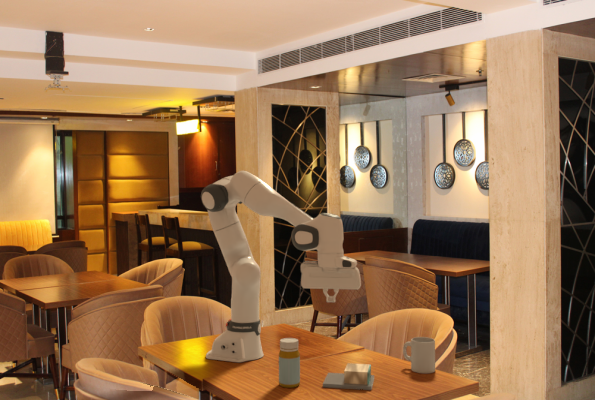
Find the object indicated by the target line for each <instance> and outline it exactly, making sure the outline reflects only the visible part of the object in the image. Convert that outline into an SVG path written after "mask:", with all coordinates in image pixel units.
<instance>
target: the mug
mask: <svg viewBox="0 0 595 400" xmlns="http://www.w3.org/2000/svg"><path fill="white" fill-rule="evenodd" d="M407 347H410V355H411V356H410V355H408V354H407ZM402 349H403V350H402V353H403V357H404V359H406V360H407V361H410V369H411V371H412V372H414V373H417V374H433V373H435V371H436V340H435V339H434V338H432V337H427V336H415V337H413V338H411V339H410V341H406V342H405V343H404V344H403V347H402Z"/></svg>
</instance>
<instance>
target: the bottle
mask: <svg viewBox="0 0 595 400" xmlns="http://www.w3.org/2000/svg"><path fill="white" fill-rule="evenodd" d="M300 363H301V355H300V351H299V339H298V338H294V337H285V338H281V339H280V340H279V352H278V384H279V386H280V387H282V388H285V389H286V388H287V389H292V388H297V387H298V386H299V385H300V384H301V364H300Z"/></svg>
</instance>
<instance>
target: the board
mask: <svg viewBox="0 0 595 400" xmlns="http://www.w3.org/2000/svg"><path fill="white" fill-rule="evenodd" d="M374 382H375V375H373V374H371V378H370V381H369V385H368V384H351V383H344V373H342V372H341V373H340V372H327V374H326V376H325V378H324V381H323V382H322V388H329V389H331V388H332V389H346V390H347V389H348V390H360V389H361V390H362V389H363V390H364V391H372V389H373V386H374V385H373V384H374Z"/></svg>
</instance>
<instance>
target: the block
mask: <svg viewBox="0 0 595 400" xmlns="http://www.w3.org/2000/svg"><path fill="white" fill-rule="evenodd" d="M343 372H344V383H351V384H368V385H369V381H370V378H371V375H372V365H371V364H369V363H368V364H366V363H351V362H350V363H349V362H347V364H346V366H345V369H344V371H343Z"/></svg>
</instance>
